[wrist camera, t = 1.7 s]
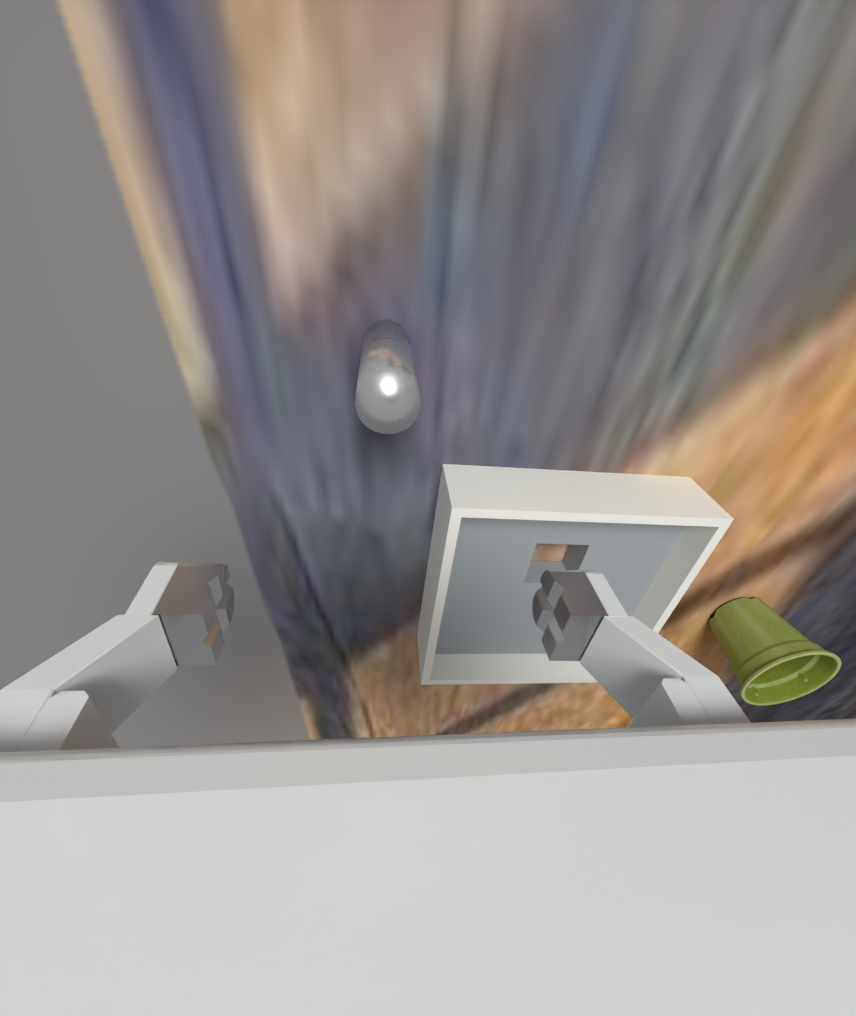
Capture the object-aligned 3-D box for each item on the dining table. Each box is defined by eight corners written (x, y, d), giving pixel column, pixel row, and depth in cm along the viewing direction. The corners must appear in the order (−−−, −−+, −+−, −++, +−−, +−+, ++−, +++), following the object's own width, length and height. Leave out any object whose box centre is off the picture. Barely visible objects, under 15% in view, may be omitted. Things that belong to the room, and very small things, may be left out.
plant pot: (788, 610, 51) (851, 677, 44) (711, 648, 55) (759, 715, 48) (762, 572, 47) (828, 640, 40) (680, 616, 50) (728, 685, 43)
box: (689, 477, 38) (733, 519, 33) (602, 635, 51) (625, 681, 46) (442, 464, 35) (452, 508, 30) (416, 635, 48) (420, 685, 43)
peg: (412, 322, 29) (423, 375, 21) (408, 370, 30) (417, 436, 22) (363, 317, 28) (355, 369, 20) (362, 366, 30) (354, 432, 22)
